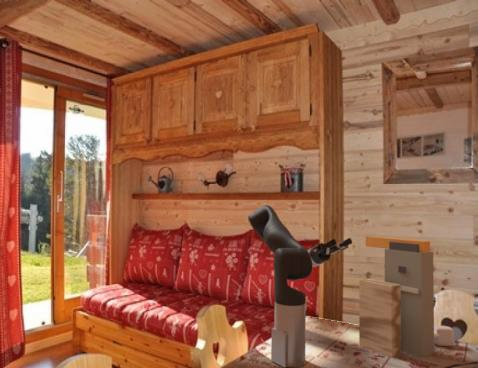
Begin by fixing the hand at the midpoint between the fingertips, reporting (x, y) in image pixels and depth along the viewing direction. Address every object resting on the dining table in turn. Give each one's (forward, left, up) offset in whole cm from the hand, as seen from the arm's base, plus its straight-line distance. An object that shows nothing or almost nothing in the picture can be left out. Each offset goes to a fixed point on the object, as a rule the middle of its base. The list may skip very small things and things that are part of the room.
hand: (343, 240), depth 149 cm
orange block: (+1, -21, -1) cm, 21 cm away
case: (+1, -26, -33) cm, 42 cm away
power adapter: (+14, -28, -33) cm, 46 cm away
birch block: (-7, -21, -33) cm, 40 cm away
